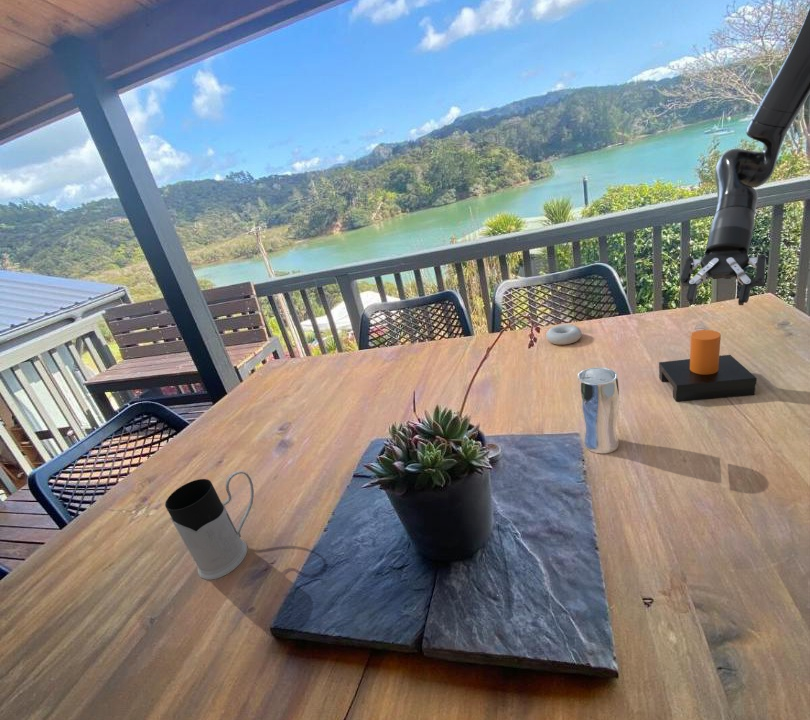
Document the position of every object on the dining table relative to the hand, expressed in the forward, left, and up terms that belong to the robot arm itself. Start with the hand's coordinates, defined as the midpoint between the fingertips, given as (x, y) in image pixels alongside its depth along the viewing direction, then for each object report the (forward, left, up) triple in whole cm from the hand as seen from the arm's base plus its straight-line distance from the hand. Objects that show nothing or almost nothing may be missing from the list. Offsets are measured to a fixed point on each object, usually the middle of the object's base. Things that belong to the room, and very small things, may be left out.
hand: (715, 303), depth 91 cm
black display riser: (+4, +6, -16) cm, 18 cm away
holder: (+95, +48, -17) cm, 107 cm away
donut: (+28, -28, -17) cm, 43 cm away
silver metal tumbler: (+28, +24, -17) cm, 40 cm away
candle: (+4, +5, -12) cm, 14 cm away
